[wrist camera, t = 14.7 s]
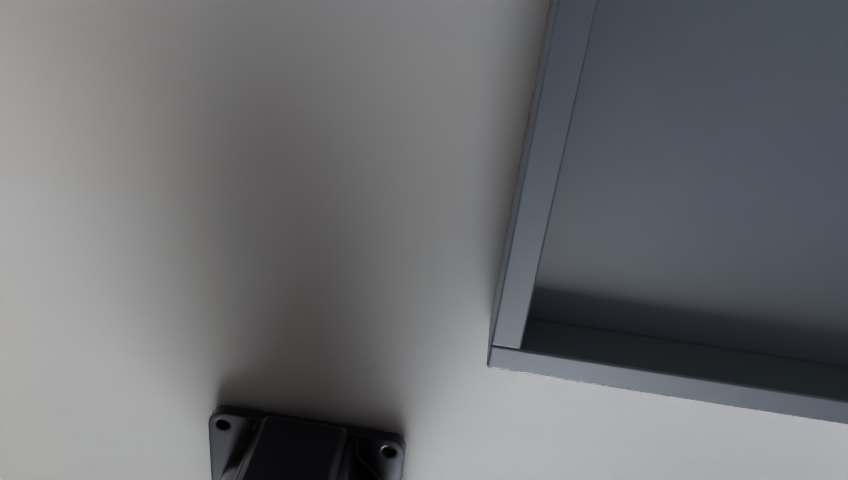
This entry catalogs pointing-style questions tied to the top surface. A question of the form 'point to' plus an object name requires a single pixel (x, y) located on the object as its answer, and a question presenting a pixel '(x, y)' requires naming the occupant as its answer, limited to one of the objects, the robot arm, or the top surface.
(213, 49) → the top surface
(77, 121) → the top surface
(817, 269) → the tray
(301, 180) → the top surface
